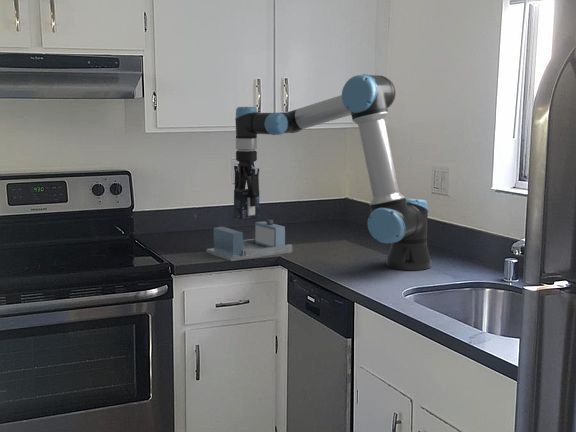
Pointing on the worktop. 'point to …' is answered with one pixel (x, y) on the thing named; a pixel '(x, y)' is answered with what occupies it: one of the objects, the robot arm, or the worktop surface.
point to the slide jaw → (269, 234)
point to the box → (244, 205)
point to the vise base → (253, 251)
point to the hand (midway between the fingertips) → (246, 213)
